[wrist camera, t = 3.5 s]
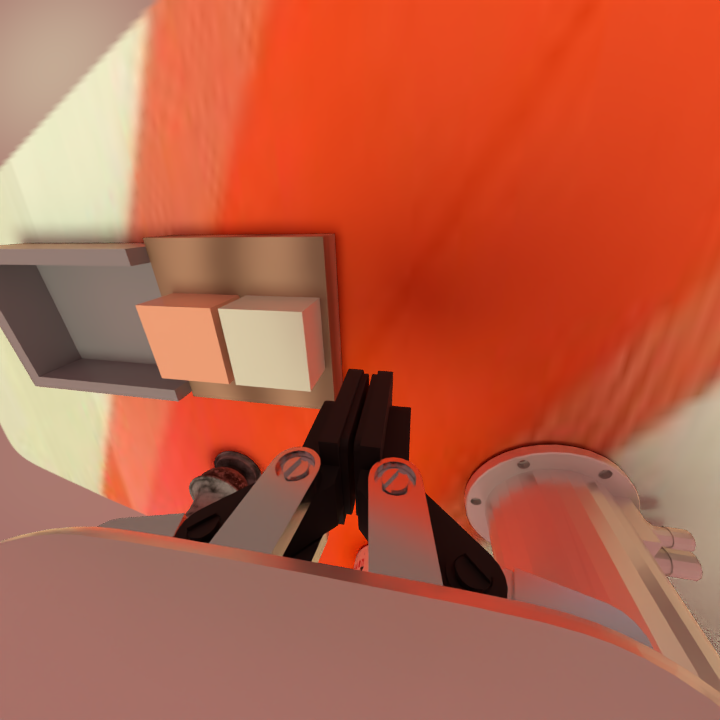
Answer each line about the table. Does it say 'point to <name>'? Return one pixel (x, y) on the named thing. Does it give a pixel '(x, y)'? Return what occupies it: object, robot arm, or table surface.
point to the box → (83, 317)
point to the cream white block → (274, 341)
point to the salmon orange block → (188, 336)
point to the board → (258, 293)
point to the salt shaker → (222, 479)
